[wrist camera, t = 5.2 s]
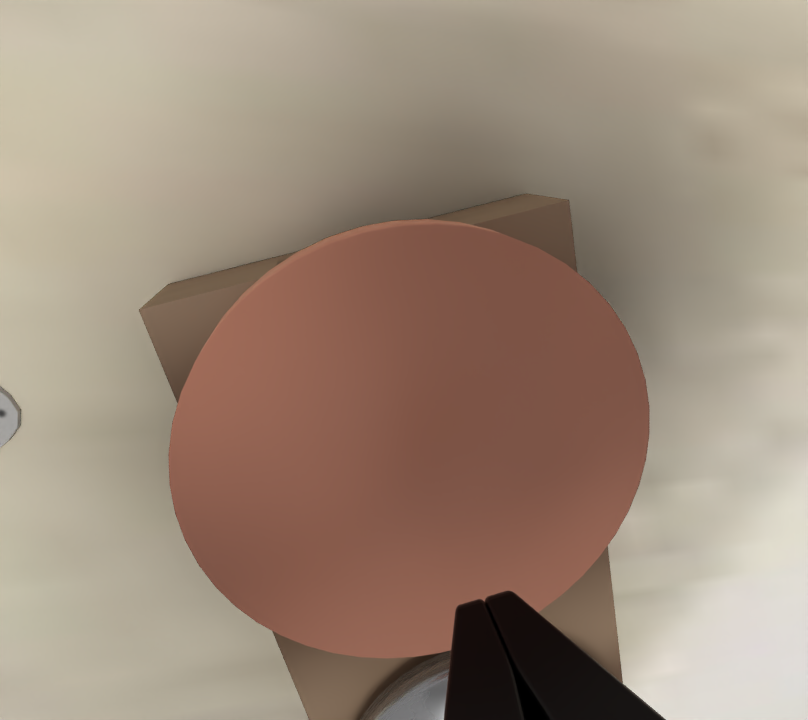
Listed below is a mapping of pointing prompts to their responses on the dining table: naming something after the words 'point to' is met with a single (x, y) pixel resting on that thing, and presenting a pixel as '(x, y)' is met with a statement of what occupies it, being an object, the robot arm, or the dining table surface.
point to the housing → (360, 676)
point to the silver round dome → (414, 693)
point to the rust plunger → (406, 436)
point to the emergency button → (8, 416)
